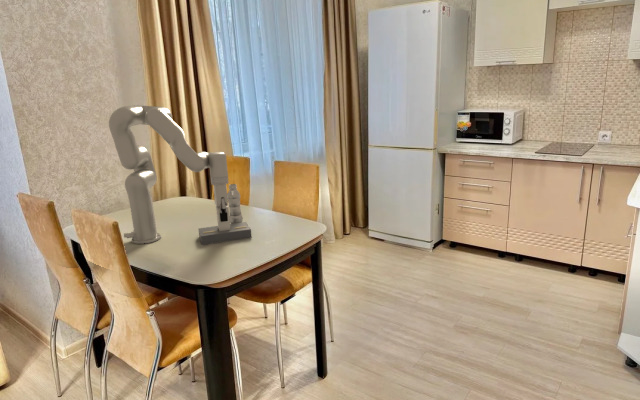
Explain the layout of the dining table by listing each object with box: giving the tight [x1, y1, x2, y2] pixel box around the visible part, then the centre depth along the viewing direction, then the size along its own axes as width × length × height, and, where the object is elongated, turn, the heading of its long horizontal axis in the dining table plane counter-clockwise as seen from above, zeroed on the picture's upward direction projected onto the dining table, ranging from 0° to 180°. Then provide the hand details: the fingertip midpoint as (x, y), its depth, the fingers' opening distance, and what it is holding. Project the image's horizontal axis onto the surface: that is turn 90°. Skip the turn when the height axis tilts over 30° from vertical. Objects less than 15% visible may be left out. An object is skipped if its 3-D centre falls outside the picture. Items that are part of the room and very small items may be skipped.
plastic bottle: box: [227, 183, 244, 224], centre depth 218 cm, size 6×7×20 cm
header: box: [198, 221, 253, 246], centre depth 201 cm, size 22×12×4 cm, turn 110°
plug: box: [215, 204, 231, 231], centre depth 199 cm, size 5×4×16 cm
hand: (223, 219), depth 200 cm, fingers closed on plug, 4 cm apart
